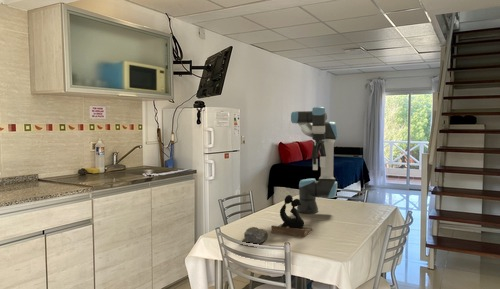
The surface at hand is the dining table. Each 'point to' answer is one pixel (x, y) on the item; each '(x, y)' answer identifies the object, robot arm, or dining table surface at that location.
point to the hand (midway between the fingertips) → (318, 168)
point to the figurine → (288, 221)
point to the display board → (291, 231)
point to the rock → (255, 235)
